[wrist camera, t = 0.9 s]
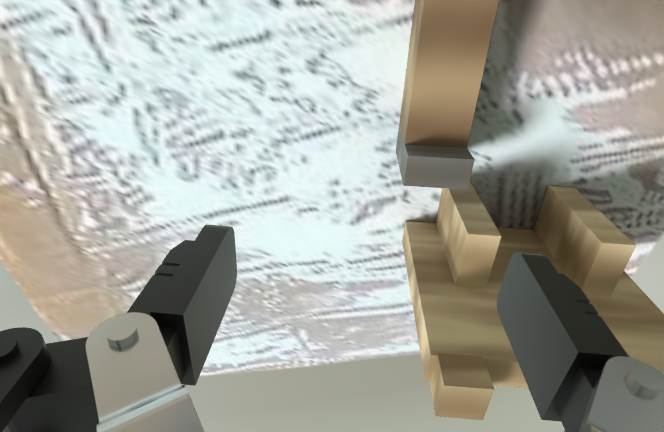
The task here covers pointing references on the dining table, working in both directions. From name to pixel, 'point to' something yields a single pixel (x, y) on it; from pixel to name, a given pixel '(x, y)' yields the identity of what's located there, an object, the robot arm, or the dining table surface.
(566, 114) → the dining table surface
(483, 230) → the wooden post stand
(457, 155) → the rail
